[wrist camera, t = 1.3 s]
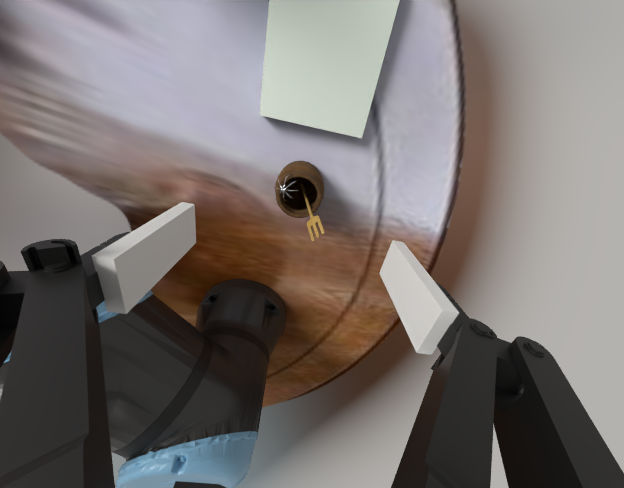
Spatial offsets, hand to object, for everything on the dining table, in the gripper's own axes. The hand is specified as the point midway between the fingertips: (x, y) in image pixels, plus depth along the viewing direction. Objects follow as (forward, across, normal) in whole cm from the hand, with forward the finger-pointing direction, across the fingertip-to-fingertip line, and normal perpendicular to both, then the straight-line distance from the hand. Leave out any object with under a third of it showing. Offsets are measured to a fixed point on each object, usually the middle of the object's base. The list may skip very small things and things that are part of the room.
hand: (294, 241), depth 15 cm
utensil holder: (+18, 0, 0) cm, 18 cm away
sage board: (+18, 0, -14) cm, 23 cm away
